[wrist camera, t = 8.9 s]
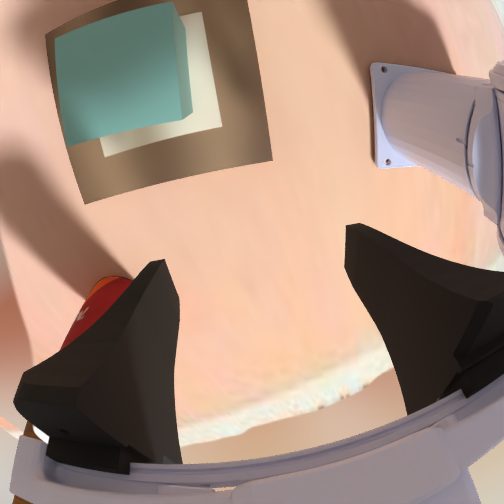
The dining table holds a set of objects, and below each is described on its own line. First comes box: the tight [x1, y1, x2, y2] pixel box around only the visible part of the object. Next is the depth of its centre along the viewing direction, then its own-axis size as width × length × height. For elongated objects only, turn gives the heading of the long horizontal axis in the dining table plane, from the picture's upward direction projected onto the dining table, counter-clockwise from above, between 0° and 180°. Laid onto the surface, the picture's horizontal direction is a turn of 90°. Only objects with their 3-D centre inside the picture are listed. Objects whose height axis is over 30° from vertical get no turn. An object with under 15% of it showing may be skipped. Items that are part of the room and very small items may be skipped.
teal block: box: [55, 2, 193, 147], centre depth 10 cm, size 5×5×5 cm
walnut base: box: [45, 0, 273, 204], centre depth 14 cm, size 12×12×3 cm
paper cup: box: [33, 276, 133, 444], centre depth 17 cm, size 8×8×14 cm
